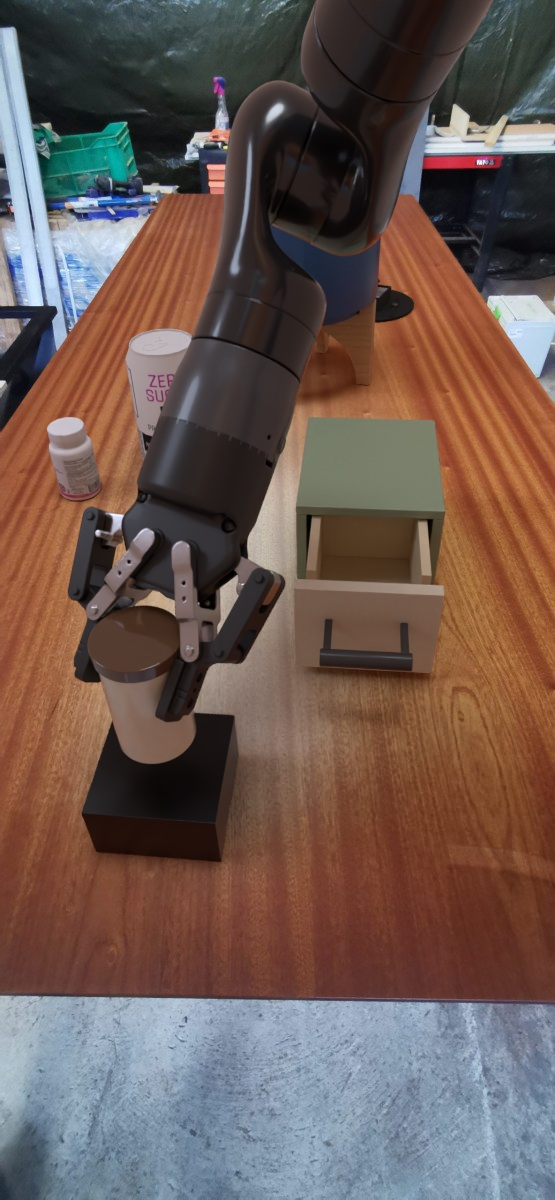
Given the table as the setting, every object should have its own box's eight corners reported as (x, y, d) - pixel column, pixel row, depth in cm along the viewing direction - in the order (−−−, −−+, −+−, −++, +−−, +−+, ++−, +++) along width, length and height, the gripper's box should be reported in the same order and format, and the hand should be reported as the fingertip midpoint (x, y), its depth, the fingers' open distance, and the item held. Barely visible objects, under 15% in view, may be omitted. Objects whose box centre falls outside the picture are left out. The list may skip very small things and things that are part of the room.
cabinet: (431, 604, 70) (445, 511, 63) (297, 598, 71) (295, 506, 64) (423, 507, 82) (434, 419, 74) (308, 503, 83) (308, 416, 76)
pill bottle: (57, 484, 87) (40, 420, 81) (97, 475, 88) (83, 411, 83) (64, 505, 84) (46, 440, 78) (105, 496, 85) (91, 431, 79)
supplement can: (185, 436, 94) (170, 320, 84) (224, 462, 90) (213, 342, 80) (131, 459, 91) (109, 340, 81) (168, 487, 86) (150, 364, 76)
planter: (265, 341, 116) (258, 148, 98) (385, 355, 111) (400, 154, 93) (218, 396, 102) (199, 184, 85) (352, 415, 97) (362, 194, 80)
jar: (205, 701, 51) (190, 606, 45) (190, 769, 47) (172, 674, 41) (127, 697, 52) (102, 602, 46) (105, 764, 48) (74, 669, 42)
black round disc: (344, 284, 133) (346, 252, 129) (425, 295, 128) (428, 262, 124) (311, 314, 123) (311, 280, 119) (396, 328, 118) (399, 293, 114)
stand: (238, 754, 58) (234, 714, 54) (221, 861, 51) (215, 823, 48) (127, 747, 59) (116, 707, 55) (95, 851, 52) (80, 813, 49)
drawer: (434, 717, 59) (449, 639, 53) (290, 708, 60) (288, 631, 54) (423, 563, 73) (433, 488, 67) (306, 558, 74) (306, 484, 68)
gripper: (90, 388, 44) (-3, 655, 44) (302, 446, 38) (192, 753, 38) (158, 428, 50) (77, 659, 51) (346, 483, 45) (252, 742, 45)
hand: (127, 698), depth 45 cm, fingers closed on jar, 5 cm apart
